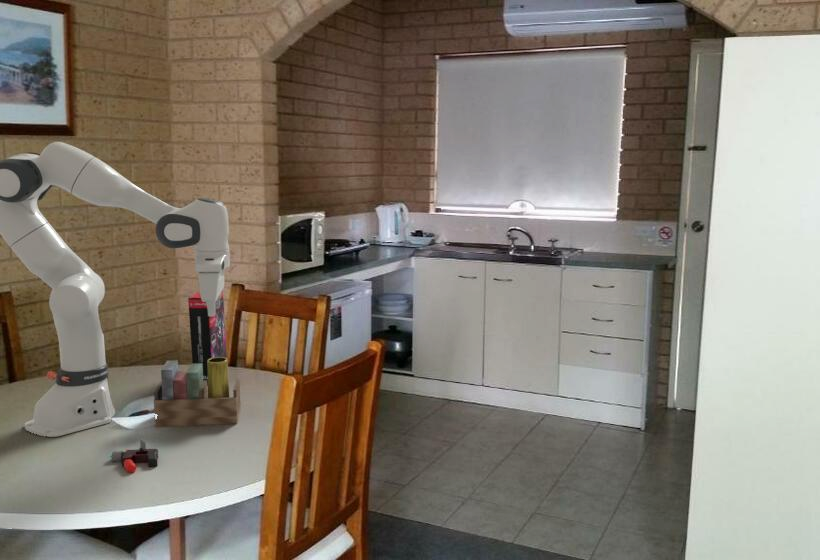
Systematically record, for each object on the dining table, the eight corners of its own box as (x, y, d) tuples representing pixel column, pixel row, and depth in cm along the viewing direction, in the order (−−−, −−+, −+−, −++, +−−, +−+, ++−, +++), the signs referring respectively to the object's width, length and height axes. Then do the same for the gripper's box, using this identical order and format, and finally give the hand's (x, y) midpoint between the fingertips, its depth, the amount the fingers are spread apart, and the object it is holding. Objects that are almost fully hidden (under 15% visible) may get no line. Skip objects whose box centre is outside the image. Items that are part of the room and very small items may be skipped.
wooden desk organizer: (240, 409, 211) (239, 357, 209) (237, 423, 201) (235, 369, 198) (163, 412, 209) (160, 359, 206) (155, 426, 198) (152, 371, 195)
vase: (228, 405, 208) (226, 355, 206) (232, 412, 203) (231, 361, 200) (206, 408, 206) (203, 357, 204) (209, 415, 201) (207, 363, 198)
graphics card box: (213, 384, 233) (210, 297, 228) (191, 384, 233) (187, 297, 228) (227, 368, 250) (224, 287, 245) (206, 367, 250) (203, 286, 245)
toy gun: (109, 458, 179) (108, 439, 178) (162, 456, 180) (161, 437, 179) (99, 476, 169) (97, 456, 168) (155, 474, 171) (153, 453, 170)
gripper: (205, 254, 208) (207, 304, 211) (194, 266, 188) (196, 320, 191) (229, 254, 209) (230, 303, 212) (220, 266, 189) (221, 320, 192)
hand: (214, 311), depth 201 cm, fingers open, 8 cm apart
